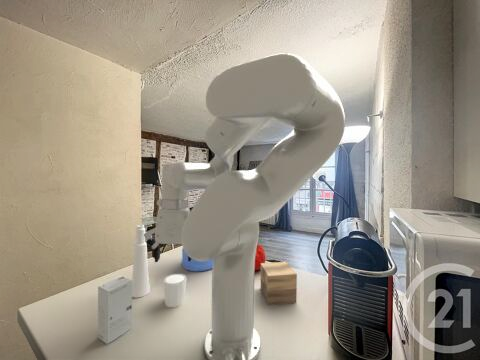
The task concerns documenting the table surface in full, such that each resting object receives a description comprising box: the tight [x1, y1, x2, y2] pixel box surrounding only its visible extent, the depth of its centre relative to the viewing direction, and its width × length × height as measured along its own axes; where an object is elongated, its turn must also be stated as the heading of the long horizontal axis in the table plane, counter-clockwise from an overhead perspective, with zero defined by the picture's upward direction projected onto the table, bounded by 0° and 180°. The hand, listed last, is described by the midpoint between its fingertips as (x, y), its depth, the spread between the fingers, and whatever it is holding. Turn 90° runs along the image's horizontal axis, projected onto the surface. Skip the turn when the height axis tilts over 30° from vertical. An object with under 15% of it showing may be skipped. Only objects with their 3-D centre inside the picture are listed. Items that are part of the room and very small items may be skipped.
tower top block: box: [260, 261, 298, 291], centre depth 66 cm, size 9×9×4 cm
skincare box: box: [97, 276, 133, 345], centre depth 50 cm, size 6×4×12 cm
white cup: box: [162, 273, 188, 308], centre depth 62 cm, size 7×7×7 cm
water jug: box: [181, 199, 214, 272], centre depth 88 cm, size 16×16×28 cm
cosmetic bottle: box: [131, 224, 152, 299], centre depth 66 cm, size 6×6×22 cm
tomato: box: [254, 244, 266, 271], centre depth 85 cm, size 11×12×9 cm
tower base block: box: [260, 277, 298, 306], centre depth 66 cm, size 9×9×4 cm
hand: (173, 259), depth 62 cm, fingers open, 9 cm apart
